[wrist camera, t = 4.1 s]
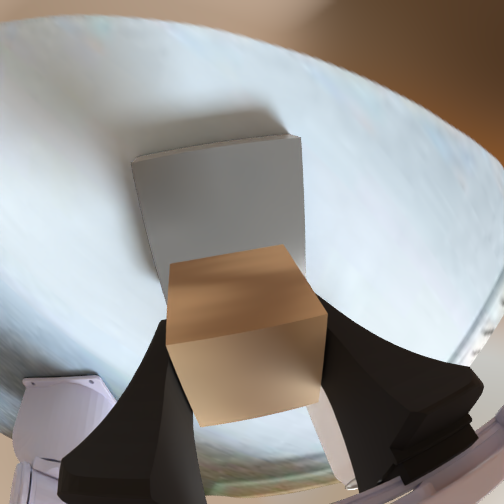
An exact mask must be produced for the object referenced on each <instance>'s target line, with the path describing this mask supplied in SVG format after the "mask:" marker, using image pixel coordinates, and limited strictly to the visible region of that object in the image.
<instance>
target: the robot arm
mask: <svg viewBox="0 0 504 504" xmlns="http://www.w3.org/2000/svg"><path fill="white" fill-rule="evenodd" d="M315 294H316V293H315ZM316 296H317V297H318V299H319V301H320V302H321V304H322V305H323V307H324V308H325V310H326V312H327V313H328V318H327V330H326V341H325V351H324V361H323V370H322V379H321V386H322V388H323V390H324V392H325V394H326V396H327V398H328V400H329V402H330V404H331V406H332V409H333V411H334V414H335V417H336V419H337V422H338V425H339V428H340V430H341V433H342V436H343V439H344V442H345V445H346V448H347V451H348V454H349V458H350V461H351V464H352V467H353V471H354V475H355V478H356V482H357V486H358V490H359V494H356V495H354V496H351V497H348V498H346V499H343V500H340V501H337V502H334V503H331V504H384V503H386V502H389V501H391V500H393V499H395V498H397V497H399V496H401V495H403V494H405V493H407V492H409V491H411V490H413V489H414V490H413V491H412V492H410V493H409V494H407V495H405V496H404V497H402V498H400V499H398V500H396V501H395V502H393V503H391V504H477V503H479V502H480V501H481V500H482V499H483V498H485V497H486V496H487V495H488V494H489V493H490V492H492V491H493V490H494V489H495V488H496V487H497V486H498V485H499V484H500V483H501V482H502V481H504V405H503V406H502V408H501V409H500V410H499V411H498V412H497V414H496V416H495V417H494V418H492V419H491V420H490V421H488V422H487V423H486V424H484V425H483V426H482V427H480V428H479V429H477V430H476V431H474V430H473V428H472V427H471V425H470V424H469V423H471V422H472V418H471V416H470V415H469V414H468V413H469V411H470V410H471V408H472V407H473V406H474V404H475V403H476V401H477V400H478V399H479V397H480V396H481V394H482V392H483V388H484V385H483V383H482V381H481V380H480V379H479V378H478V376H477V375H476V374H475V373H474V372H473V371H472V369H470V367H467V366H462V365H457V364H451V363H446V362H442V361H439V360H435V359H432V358H428V357H425V356H422V355H419V354H416V353H414V352H411V351H409V350H406V349H403V348H401V347H399V346H397V345H394V344H392V343H390V342H388V341H386V340H384V339H382V338H380V337H378V336H377V335H375V334H373V333H371V332H370V331H368V330H366V329H365V328H363V327H361V326H360V325H358V324H357V323H355V322H354V321H352V320H351V319H349V318H348V317H347V316H345V315H344V314H342V313H341V312H339V311H338V310H337V309H335V308H334V307H333V306H331V305H330V304H329V303H327V302H326V301H325V300H324V299H322V298H321V297H320V296H318V295H317V294H316ZM166 322H167V319H165V320H161V321H160V323H159V325H158V327H157V330H156V332H155V335H154V337H153V339H152V341H151V343H150V346H149V348H148V350H147V352H146V354H145V356H144V358H143V360H142V362H141V364H140V366H139V367H138V369H137V371H136V373H135V375H134V376H133V378H132V380H131V382H130V383H129V385H128V386H127V388H126V390H125V391H124V393H123V394H122V396H121V397H120V398H119V400H118V401H116V400H115V398H114V397H113V395H112V394H111V392H110V391H109V389H108V388H107V386H106V385H105V383H104V382H103V380H102V379H101V378H100V377H99V376H97V375H90V376H75V377H53V378H24V379H23V381H22V383H23V384H24V385H25V387H26V390H25V393H24V396H23V399H22V402H21V405H20V408H19V412H18V415H17V418H16V422H15V425H14V429H13V436H12V439H13V447H14V451H15V454H16V456H17V458H18V460H19V461H20V463H19V464H17V466H16V470H15V473H14V478H13V483H12V488H11V495H10V504H207V502H206V499H205V493H204V489H203V484H202V480H201V475H200V470H199V464H198V459H197V453H196V447H195V440H194V431H193V410H192V408H191V406H190V403H189V401H188V399H187V396H186V394H185V392H184V390H183V387H182V385H181V382H180V380H179V378H178V375H177V373H176V370H175V368H174V365H173V363H172V360H171V358H170V355H169V353H168V350H167V347H166Z"/></svg>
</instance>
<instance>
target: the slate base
mask: <svg viewBox="0 0 504 504" xmlns="http://www.w3.org/2000/svg"><path fill="white" fill-rule="evenodd" d="M131 166H132V171H133V176H134V181H135V186H136V190H137V195H138V199H139V204H140V208H141V212H142V216H143V221H144V225H145V229H146V233H147V237H148V241H149V244H150V248H151V252H152V256H153V259H154V263H155V266H156V270H157V273H158V277H159V280H160V284H161V287H162V290H163V294H164V297H165V300H166V304H167V301H168V284H169V270H170V264H171V263H177V262H183V261H189V260H194V259H200V258H206V257H212V256H217V255H223V254H229V253H235V252H241V251H246V250H252V249H258V248H264V247H270V246H276V245H281V244H283V245H284V246H285V248H286V249H287V251H288V252H289V254H290V255H291V257H292V258H293V260H294V262H295V263H296V265H297V266H298V268H299V269H300V271H301V272H302V274H303V275H304V277H305V279H306V268H305V215H304V187H303V165H302V147H301V137H298V136H295V135H291V134H282V135H271V136H261V137H253V138H244V139H236V140H229V141H222V142H215V143H208V144H202V145H196V146H190V147H184V148H179V149H173V150H168V151H163V152H158V153H153V154H148V155H143V156H139V157H136V158H135V159H134V160H133V161H132V163H131Z"/></svg>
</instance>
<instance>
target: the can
mask: <svg viewBox="0 0 504 504" xmlns="http://www.w3.org/2000/svg"><path fill="white" fill-rule="evenodd" d="M306 407H307V410H308V412H309V415H310V417H311V420H312V422H313V425H314V427H315V430H316V432H317V435H318V437H319V440H320V442H321V445H322V447H323V450H324V452H325V454H326V457H327V459H328V462H329V464H330V466H331V469H332V471H333V473H334V475H335V477H336V478H337V479H338V480H339V481H341V482H342V483H343V484H344V485H345V489H346V490H353V489H357V488H358V486H357V482H356V478H355V475H354V471H353V467H352V464H351V461H350V458H349V454H348V451H347V448H346V445H345V442H344V439H343V436H342V433H341V430H340V428H339V425H338V422H337V419H336V417H335V414H334V411H333V409H332V406H331V404H330V402H329V400H328V398H327V396H326V394H325V392H324V390H323V388H322V386H321V387H320V395H319V402H317V403H314V404H310V405H307V406H306Z"/></svg>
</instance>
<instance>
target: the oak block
mask: <svg viewBox="0 0 504 504" xmlns="http://www.w3.org/2000/svg"><path fill="white" fill-rule="evenodd" d="M327 318H328V313H327V312H326V310H325V308H324V307H323V305H322V304H321V302H320V301H319V299H318V297H317V296H316V294H315V293H314V291H313V290H312V288H311V286H310V285H309V283H308V282H307V280H306V279H305V277H304V275H303V274H302V272H301V271H300V269H299V268H298V266H297V265H296V263H295V262H294V260H293V258H292V257H291V255H290V254H289V252H288V251H287V249H286V248H285V246H284V245H283V244H281V245H276V246H270V247H264V248H258V249H252V250H246V251H241V252H235V253H229V254H223V255H217V256H212V257H206V258H200V259H194V260H189V261H183V262H177V263H171V264H170V270H169V284H168V301H167V322H166V347H167V350H168V353H169V355H170V358H171V360H172V363H173V365H174V368H175V370H176V373H177V375H178V378H179V380H180V382H181V385H182V387H183V390H184V392H185V394H186V396H187V399H188V401H189V403H190V406H191V408H192V410H193V412H194V414H195V417H196V419H197V421H198V423H199V425H200V427H205V426H212V425H219V424H225V423H231V422H236V421H242V420H247V419H252V418H257V417H262V416H266V415H271V414H275V413H279V412H284V411H288V410H292V409H295V408H299V407H303V406H307V405H310V404H314V403H317V402H319V395H320V387H321V379H322V370H323V361H324V351H325V341H326V330H327Z"/></svg>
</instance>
